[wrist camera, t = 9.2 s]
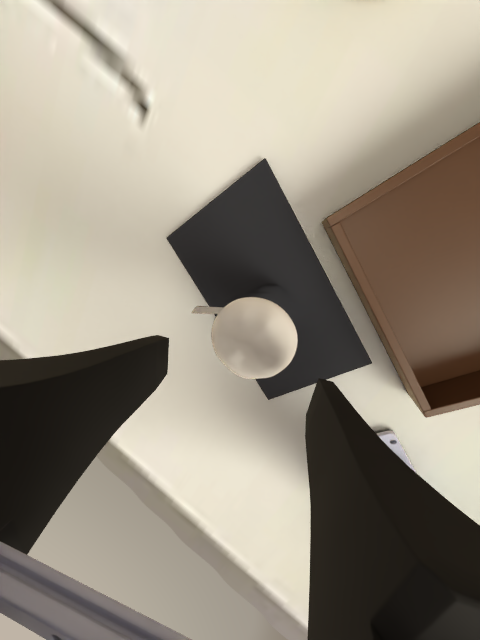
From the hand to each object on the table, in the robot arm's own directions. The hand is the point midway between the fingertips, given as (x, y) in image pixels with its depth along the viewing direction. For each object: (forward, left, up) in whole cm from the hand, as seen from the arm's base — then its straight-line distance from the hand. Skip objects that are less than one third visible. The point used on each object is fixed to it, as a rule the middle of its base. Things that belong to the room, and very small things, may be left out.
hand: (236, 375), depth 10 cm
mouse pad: (+1, -1, -10) cm, 10 cm away
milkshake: (+1, -1, -10) cm, 10 cm away
